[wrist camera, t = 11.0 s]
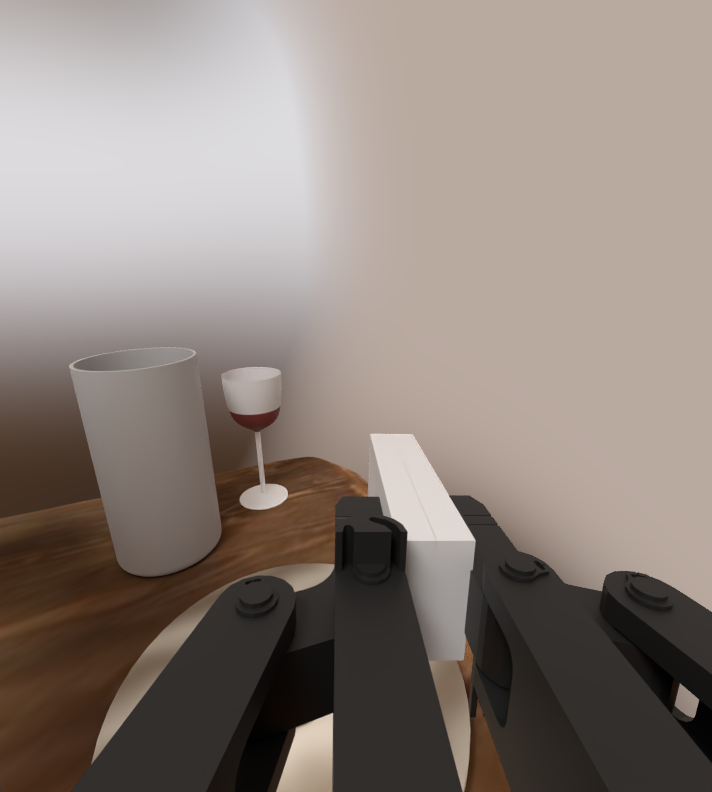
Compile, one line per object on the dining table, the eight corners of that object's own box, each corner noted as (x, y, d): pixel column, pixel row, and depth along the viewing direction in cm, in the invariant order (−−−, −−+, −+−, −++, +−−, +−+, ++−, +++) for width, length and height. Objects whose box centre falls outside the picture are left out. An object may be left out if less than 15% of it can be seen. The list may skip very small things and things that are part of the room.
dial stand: (98, 651, 38) (93, 632, 37) (354, 546, 51) (353, 531, 50) (81, 1244, 15) (66, 1224, 14) (553, 771, 28) (558, 749, 27)
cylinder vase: (240, 524, 56) (218, 349, 49) (179, 589, 45) (138, 375, 37) (167, 510, 60) (135, 345, 52) (93, 569, 48) (39, 368, 41)
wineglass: (264, 517, 58) (249, 384, 51) (225, 499, 62) (208, 375, 56) (301, 492, 64) (293, 371, 58) (264, 477, 69) (252, 364, 62)
